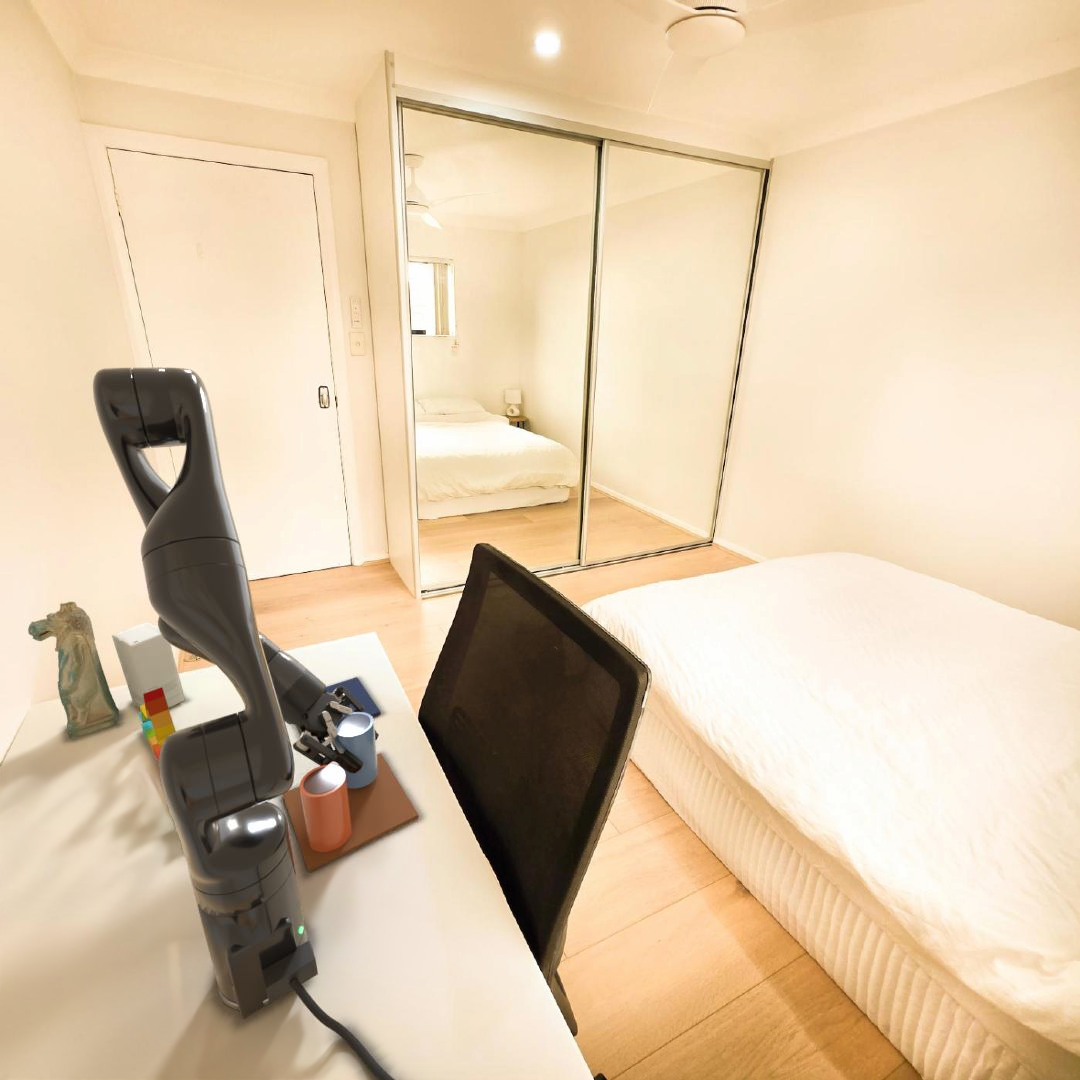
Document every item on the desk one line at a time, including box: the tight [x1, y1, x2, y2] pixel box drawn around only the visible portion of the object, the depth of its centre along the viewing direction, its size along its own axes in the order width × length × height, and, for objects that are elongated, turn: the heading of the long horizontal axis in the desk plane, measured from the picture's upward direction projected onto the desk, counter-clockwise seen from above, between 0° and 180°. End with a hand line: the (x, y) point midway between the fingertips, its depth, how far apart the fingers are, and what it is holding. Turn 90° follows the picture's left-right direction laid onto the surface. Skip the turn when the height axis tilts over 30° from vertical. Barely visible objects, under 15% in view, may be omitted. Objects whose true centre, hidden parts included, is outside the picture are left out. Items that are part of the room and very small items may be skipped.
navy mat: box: [325, 676, 382, 718], centre depth 105 cm, size 14×14×1 cm
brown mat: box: [282, 752, 420, 873], centre depth 82 cm, size 16×16×1 cm
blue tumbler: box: [336, 712, 378, 789], centre depth 85 cm, size 6×6×10 cm
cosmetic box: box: [111, 621, 186, 709], centre depth 102 cm, size 8×7×16 cm
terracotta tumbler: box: [299, 764, 352, 852], centre depth 75 cm, size 6×6×10 cm
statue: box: [27, 601, 120, 740], centre depth 94 cm, size 7×8×25 cm
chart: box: [138, 687, 177, 763], centre depth 86 cm, size 30×3×15 cm, turn 47°
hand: (367, 753), depth 85 cm, fingers closed on blue tumbler, 6 cm apart
